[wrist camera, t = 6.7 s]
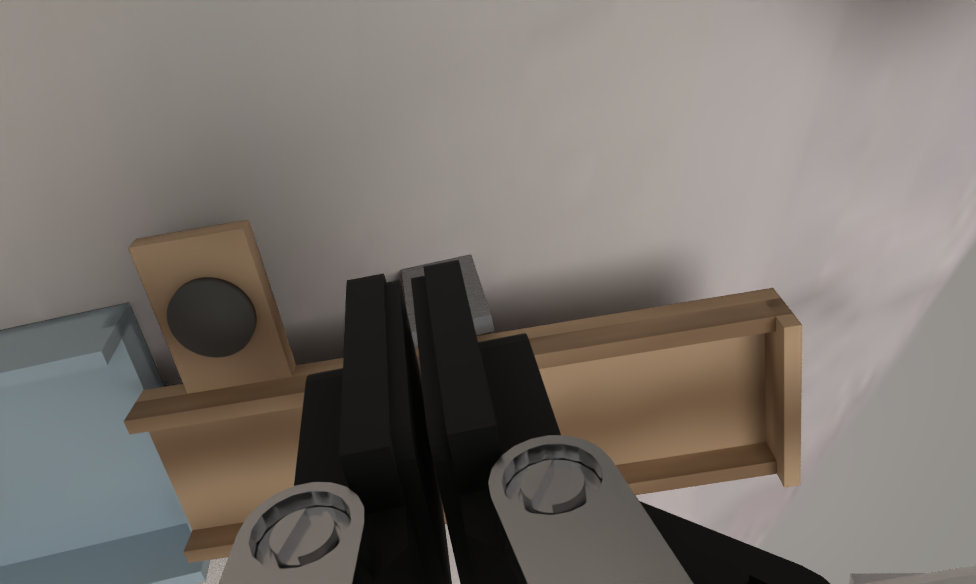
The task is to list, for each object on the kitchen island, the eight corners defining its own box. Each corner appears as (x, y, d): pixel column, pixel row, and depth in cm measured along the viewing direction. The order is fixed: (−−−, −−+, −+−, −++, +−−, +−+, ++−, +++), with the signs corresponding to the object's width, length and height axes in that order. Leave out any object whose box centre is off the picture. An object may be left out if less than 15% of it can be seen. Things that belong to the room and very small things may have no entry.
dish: (-216, 377, 32) (-289, 436, 28) (129, 302, 32) (101, 351, 29) (-75, 586, 37) (-121, 659, 33) (219, 517, 38) (205, 581, 34)
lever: (94, 236, 29) (43, 283, 25) (760, 121, 28) (803, 154, 24) (210, 510, 35) (183, 580, 31) (765, 425, 34) (800, 487, 30)
